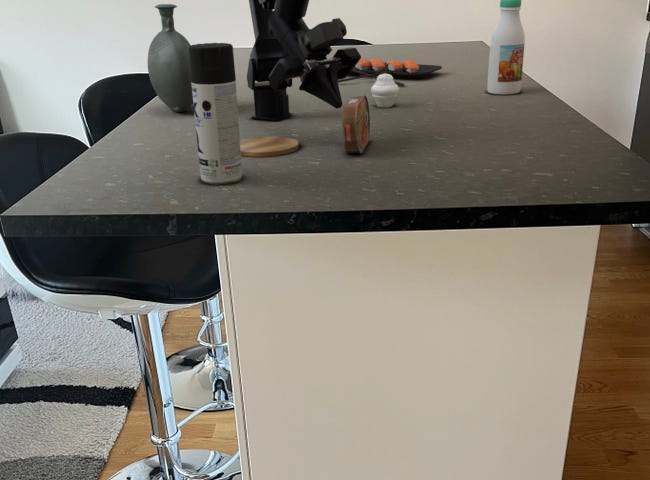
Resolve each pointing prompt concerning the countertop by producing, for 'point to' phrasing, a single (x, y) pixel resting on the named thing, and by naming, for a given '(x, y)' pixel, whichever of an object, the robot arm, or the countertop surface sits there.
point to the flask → (170, 63)
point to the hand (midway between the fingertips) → (339, 106)
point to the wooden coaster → (267, 146)
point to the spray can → (216, 112)
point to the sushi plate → (391, 69)
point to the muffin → (384, 90)
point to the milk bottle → (506, 51)
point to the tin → (356, 124)
